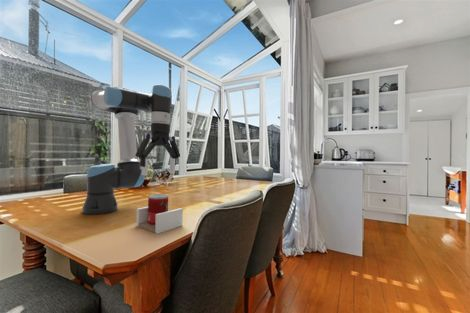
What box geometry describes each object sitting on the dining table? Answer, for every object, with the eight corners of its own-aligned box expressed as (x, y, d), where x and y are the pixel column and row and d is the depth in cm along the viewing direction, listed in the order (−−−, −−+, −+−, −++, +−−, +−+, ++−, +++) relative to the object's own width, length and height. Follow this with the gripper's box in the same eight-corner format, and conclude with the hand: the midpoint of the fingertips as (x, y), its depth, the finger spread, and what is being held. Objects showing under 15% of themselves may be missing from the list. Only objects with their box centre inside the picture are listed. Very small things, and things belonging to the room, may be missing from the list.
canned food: (161, 225, 87) (162, 198, 87) (143, 224, 89) (144, 196, 88) (171, 220, 94) (171, 194, 94) (154, 218, 96) (155, 193, 96)
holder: (136, 225, 90) (136, 208, 90) (161, 219, 100) (161, 203, 100) (157, 233, 82) (158, 214, 82) (182, 225, 92) (182, 208, 92)
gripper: (138, 118, 79) (136, 177, 80) (189, 126, 100) (187, 173, 101) (126, 119, 84) (125, 175, 84) (177, 127, 104) (176, 171, 105)
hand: (159, 174), depth 92 cm, fingers open, 13 cm apart
